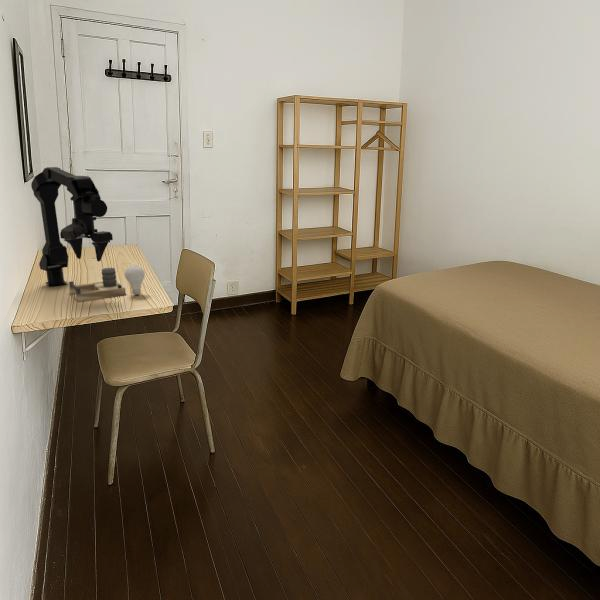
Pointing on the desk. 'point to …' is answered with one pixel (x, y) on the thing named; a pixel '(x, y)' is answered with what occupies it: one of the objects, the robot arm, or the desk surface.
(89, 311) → the desk surface
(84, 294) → the wooden handle frame
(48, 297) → the desk surface
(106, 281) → the stacked grey discs
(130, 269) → the light bulb
